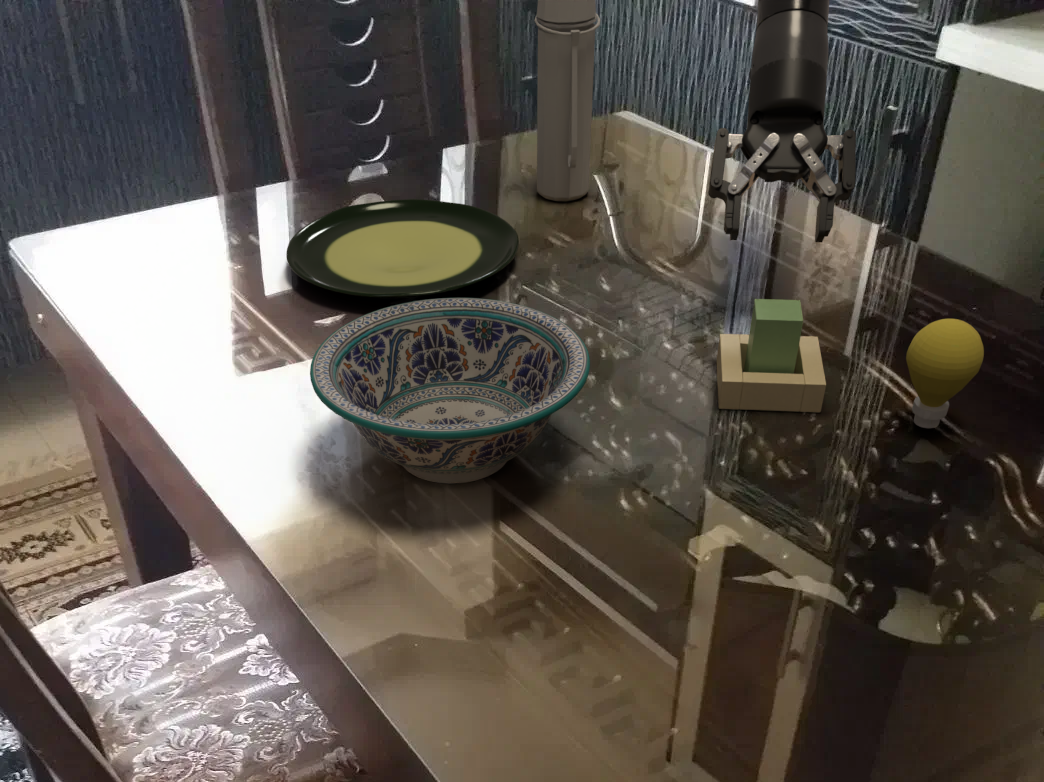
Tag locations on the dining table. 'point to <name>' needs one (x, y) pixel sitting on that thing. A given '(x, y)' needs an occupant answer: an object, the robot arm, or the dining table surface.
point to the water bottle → (565, 96)
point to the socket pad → (769, 379)
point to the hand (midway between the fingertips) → (777, 238)
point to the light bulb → (942, 366)
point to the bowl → (450, 382)
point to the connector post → (774, 336)
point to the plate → (402, 248)
